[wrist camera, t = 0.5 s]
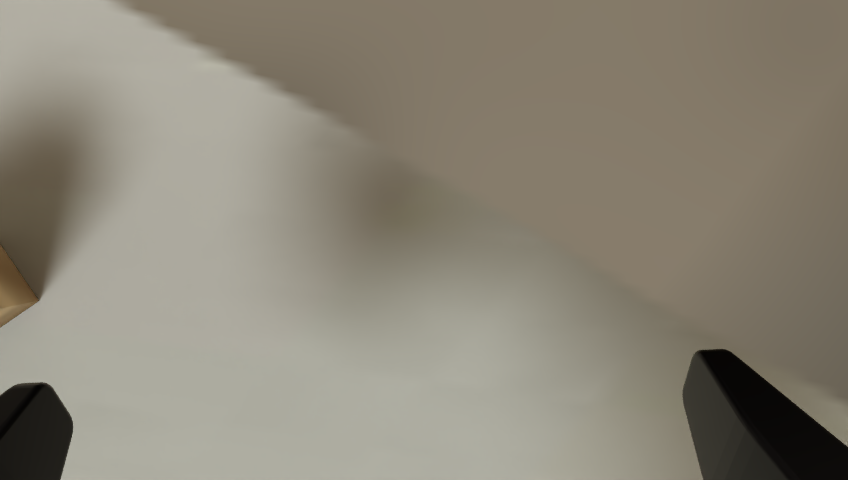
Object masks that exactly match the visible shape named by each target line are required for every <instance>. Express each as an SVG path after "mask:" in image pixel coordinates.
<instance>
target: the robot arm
mask: <svg viewBox="0 0 848 480" xmlns="http://www.w3.org/2000/svg"><path fill="white" fill-rule="evenodd" d="M683 403H684V408H685V412H686V415H687V419H688V423H689V427H690V431H691V435H692V438H693V442H694V446H695V450H696V454H697V458H698V461H699V465H700V469H701V473H702V477H703V480H848V447H847V446H846V445H845V444H843V443H842V442H841V441H840V440H838V439H837V438H836V437H835V436H834V435H832V434H831V433H830V432H829V431H827V430H826V429H825V428H824V427H822V426H821V425H820V424H819V423H818V422H816V421H815V420H814V419H813V418H811V417H810V416H809V415H808V414H807V413H805V412H804V411H803V410H802V409H800V408H799V407H798V406H797V405H796V404H794V403H793V402H792V401H791V400H789V399H788V398H787V397H786V396H784V395H783V394H782V393H781V392H780V391H778V390H777V389H776V388H775V387H773V386H772V385H771V384H770V383H769V382H767V381H766V380H765V379H764V378H762V377H761V376H760V375H759V374H758V373H756V372H755V371H754V370H753V369H751V368H750V367H749V366H748V365H746V364H745V363H744V362H743V361H742V360H740V359H739V358H738V357H737V356H735V355H734V354H733V353H731V352H730V351H728V350H725V349H713V350H699V351H697V352H696V353H695V354H694V355H693V357H692V360H691V364H690V367H689V370H688V374H687V377H686V380H685V384H684V387H683ZM72 433H73V422H72V418H71V416H70V414H69V412H68V411H67V409H66V408H65V406H64V405H63V403H62V402H61V400H60V399H59V397H58V395H57V394H56V392H55V391H54V389H53V388H52V387H51V386H50V385H49V384H47V383H43V382H40V383H22V384H17V385H14V386H12V387H11V388H9V389H8V390H7V391H5V392H4V393H3V394H1V395H0V480H60V479H61V475H62V472H63V468H64V464H65V460H66V457H67V453H68V449H69V445H70V442H71V438H72Z"/></svg>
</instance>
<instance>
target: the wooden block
mask: <svg viewBox="0 0 848 480" xmlns="http://www.w3.org/2000/svg"><path fill="white" fill-rule="evenodd" d="M38 301H39V300H38V299H37V297H36V296H35V294H34V293H33V291H32V290H31V289H30V287H29V286H28V284H27V283H26V281H25V280H24V278H23V277H22V275H21V274H20V273H19V271H18V270H17V268H16V267H15V265H14V264H13V262H12V261H11V259H10V258H9V256H8V255H7V254H6V252H5V251H4V249H3V248H2V246H1V245H0V327H2V326H3V325H5V324H6V323H7V322H9V321H10V320H12V319H13V318H15V317H16V316H18V315H19V314H21V313H22V312H23V311H25V310H26V309H28V308H29V307H31V306H32V305H34V304H35V303H37V302H38Z"/></svg>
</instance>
